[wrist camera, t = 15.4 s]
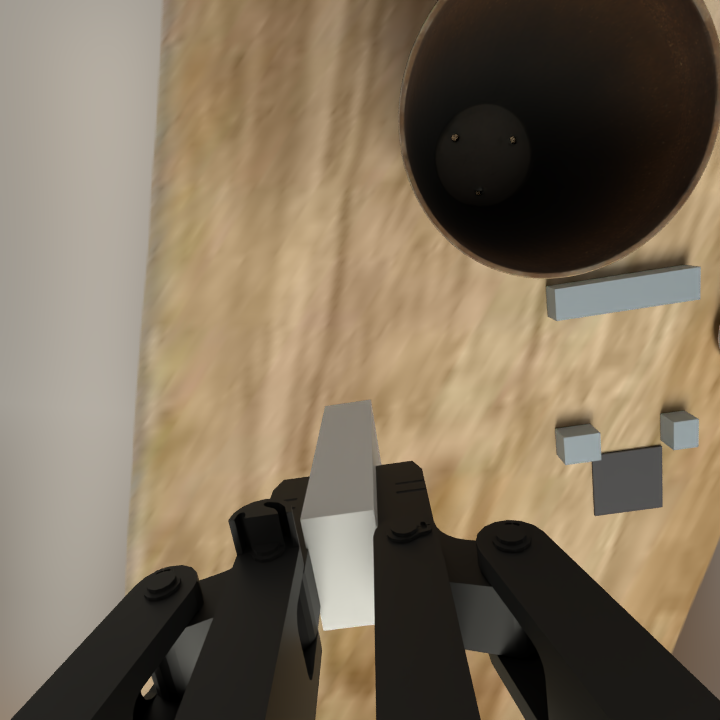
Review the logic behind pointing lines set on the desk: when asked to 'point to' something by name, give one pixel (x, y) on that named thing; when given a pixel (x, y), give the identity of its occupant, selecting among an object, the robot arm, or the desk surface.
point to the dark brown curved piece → (558, 126)
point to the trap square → (627, 481)
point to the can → (719, 337)
